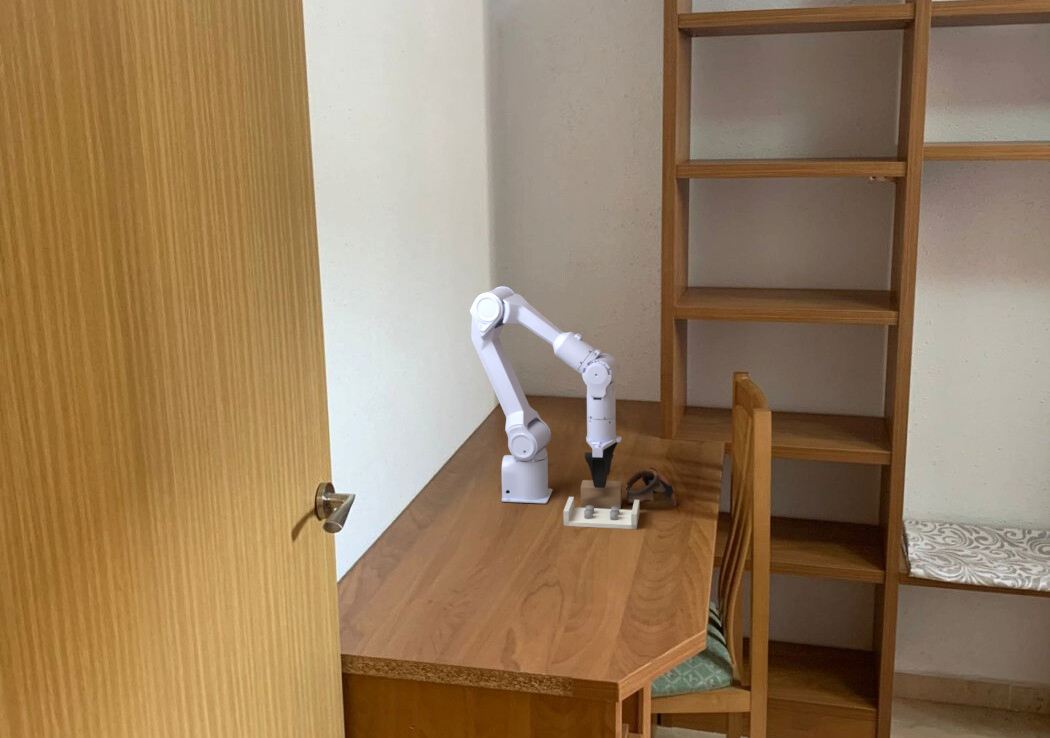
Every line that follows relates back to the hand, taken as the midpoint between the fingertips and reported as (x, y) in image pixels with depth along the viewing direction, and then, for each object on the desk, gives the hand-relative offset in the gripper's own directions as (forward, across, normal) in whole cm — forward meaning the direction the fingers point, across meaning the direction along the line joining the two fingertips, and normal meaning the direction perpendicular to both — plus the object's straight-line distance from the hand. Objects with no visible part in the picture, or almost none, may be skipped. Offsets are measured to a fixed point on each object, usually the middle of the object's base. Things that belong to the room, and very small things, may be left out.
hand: (601, 480), depth 209 cm
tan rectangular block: (+5, 0, 0) cm, 5 cm away
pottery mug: (+5, +2, -10) cm, 11 cm away
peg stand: (+5, -8, -1) cm, 10 cm away
